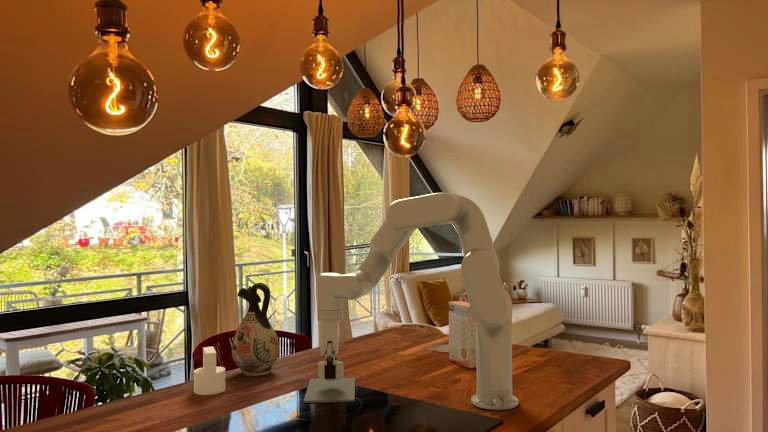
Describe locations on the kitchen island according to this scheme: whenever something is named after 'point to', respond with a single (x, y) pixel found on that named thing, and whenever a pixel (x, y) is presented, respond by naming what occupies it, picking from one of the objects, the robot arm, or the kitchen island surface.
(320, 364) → the small box
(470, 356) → the cracker box
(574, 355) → the kitchen island surface
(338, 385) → the mat
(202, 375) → the cylinder with rectangular tab
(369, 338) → the kitchen island surface
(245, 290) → the ceramic jug
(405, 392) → the kitchen island surface
